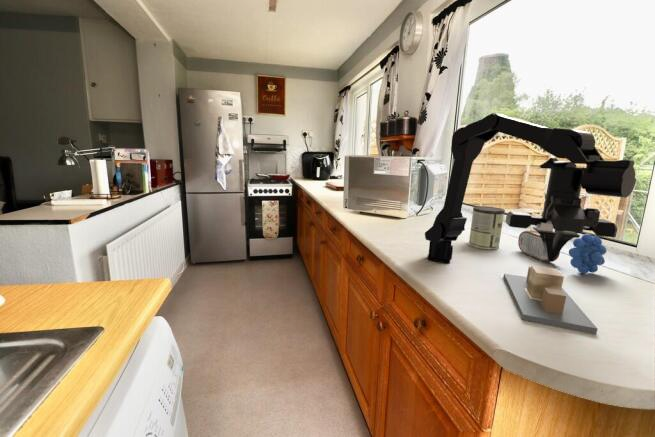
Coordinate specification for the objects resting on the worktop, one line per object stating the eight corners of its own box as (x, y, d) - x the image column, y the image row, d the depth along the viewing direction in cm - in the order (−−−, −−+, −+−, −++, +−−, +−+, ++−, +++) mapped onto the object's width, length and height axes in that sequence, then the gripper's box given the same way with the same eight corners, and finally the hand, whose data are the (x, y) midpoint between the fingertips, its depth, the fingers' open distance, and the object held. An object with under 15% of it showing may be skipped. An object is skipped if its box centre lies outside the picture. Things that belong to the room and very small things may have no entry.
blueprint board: (522, 319, 61) (526, 295, 60) (503, 277, 83) (506, 259, 82) (596, 334, 57) (602, 308, 56) (555, 285, 79) (559, 266, 78)
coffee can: (470, 240, 121) (475, 205, 118) (499, 245, 116) (505, 208, 113) (466, 246, 113) (471, 208, 110) (497, 251, 107) (504, 212, 104)
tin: (558, 265, 95) (563, 239, 94) (549, 265, 95) (554, 239, 93) (522, 250, 110) (526, 227, 108) (514, 250, 110) (518, 227, 108)
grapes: (579, 280, 84) (589, 237, 81) (558, 270, 90) (566, 231, 88) (615, 279, 86) (625, 237, 83) (591, 270, 92) (600, 231, 90)
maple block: (531, 297, 69) (536, 272, 67) (526, 289, 73) (531, 265, 72) (558, 302, 67) (563, 276, 66) (551, 293, 71) (556, 269, 70)
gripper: (520, 191, 61) (508, 265, 64) (641, 199, 54) (621, 281, 58) (510, 187, 71) (500, 251, 74) (611, 193, 65) (595, 263, 68)
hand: (549, 261), depth 68 cm, fingers closed
